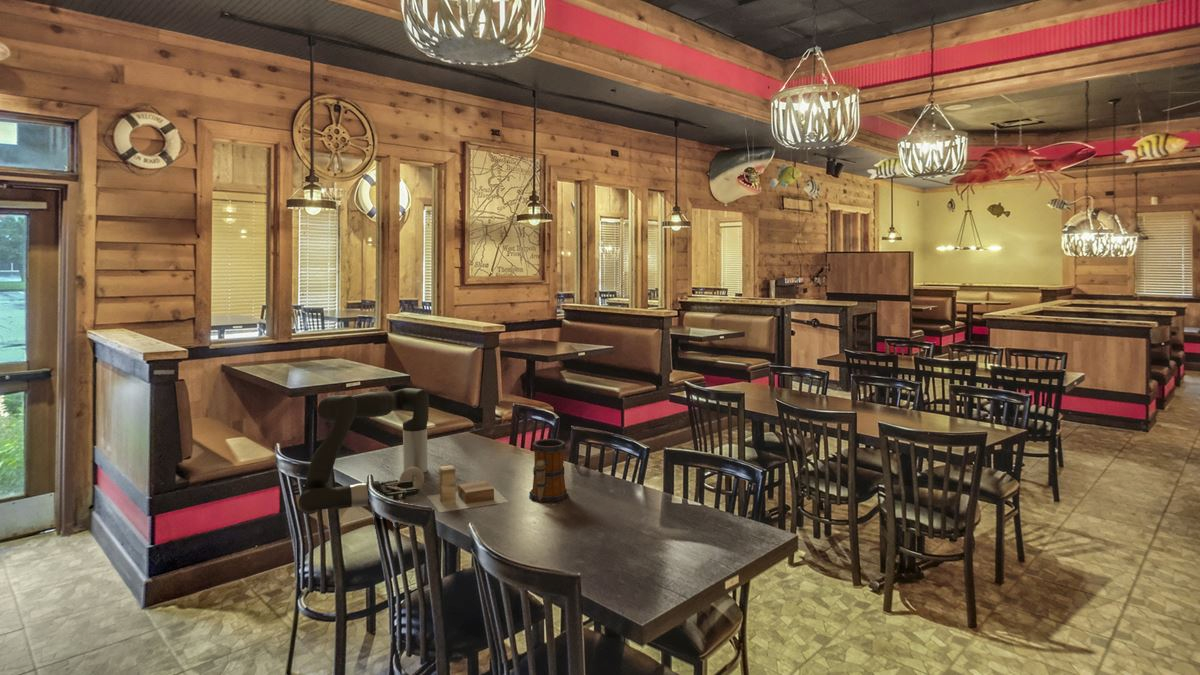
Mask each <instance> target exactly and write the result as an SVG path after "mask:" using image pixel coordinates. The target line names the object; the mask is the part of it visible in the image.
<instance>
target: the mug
mask: <svg viewBox="0 0 1200 675" xmlns="http://www.w3.org/2000/svg"><path fill="white" fill-rule="evenodd" d="M531 446H532V448H533V451H534V466H533V473H532V474H533V478H532V479H533V480H532V488H531V489H530V491H529V496H528V499H529V500H530V501H532V503H538V504H547V505H548V504H556V505H558V504H557V503H560V504H563V503H562V502H564V501H566V500H567V501H569V500H570V495H569V493H568V489H567V488H566V479H565V466H564V450H565V449H566V448H567V446H566V444H565V441H563V440H562V439H556V438H543V439H538V440H535V441H533V443H532V445H531ZM568 499H569V500H568ZM567 501H566V502H567ZM564 503H565V502H564Z"/></svg>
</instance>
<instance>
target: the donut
mask: <svg viewBox="0 0 1200 675" xmlns="http://www.w3.org/2000/svg"><path fill="white" fill-rule="evenodd" d="M412 477H414V481H413V487H411V488H404V489H412V488H418V492H419V491H420V490H421V489H422V487H423V485H424V481H425V473H423V472H422V470H421V469H420V468H418V467H415V466H414V467H409V468H407V469H406V470H405V471H404V470H403V471H402V473H401V475H400V477H399V479H398V481H401V482H405V481H411V480H410V479H411V478H412ZM401 489H402V488H401Z"/></svg>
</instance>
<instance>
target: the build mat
mask: <svg viewBox="0 0 1200 675" xmlns="http://www.w3.org/2000/svg"><path fill="white" fill-rule="evenodd" d="M493 488H494V500H490V501H483V502H477V503H470V504H465V502H464V501H463V500H462V499H461V498H460V497H459V496H458V491H456V503H451V504H445V505H443V504H442V503H441V502H440V493H439V494H433V495H432V494H431V495H427V496H426V497H427V498H428V499H429V501H430V502H431V503H432V504H433V506H434V507H435V509H436V510H437V511H438V512H439V513H444V512H452V511H458V510H464V509H471V508H477V507H478V508H479V507H483V506H490V505H496V504H504V503H509V502H510V501H509V500H508V499H506V497H504V496H503V495H502V494H501V492H499V491H498V490H497V489H495V487H493Z"/></svg>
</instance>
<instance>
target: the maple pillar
mask: <svg viewBox="0 0 1200 675" xmlns="http://www.w3.org/2000/svg"><path fill="white" fill-rule="evenodd" d="M438 468H439V469H438V474H439V477H438V478H439V485H438V486H439V489H438V490H439V494H440V502H441V503H442V504H443V505H445V504H451V503H456V492H457V491H456V489H457V488H456V487H457V486H456V484H457V481H456V478H457V477H456V475H457V474H456V468H455V466H453V465H451V464H450V465H445V466H443V465H442V466H439V467H438Z"/></svg>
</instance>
